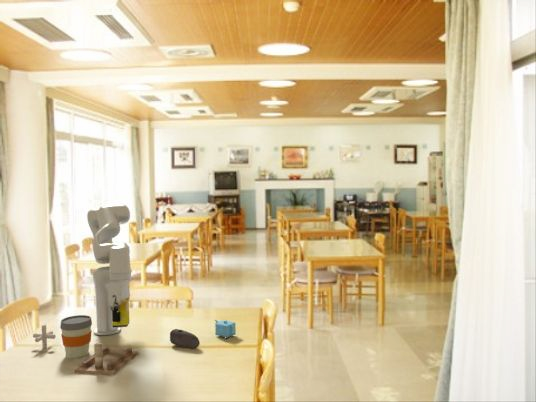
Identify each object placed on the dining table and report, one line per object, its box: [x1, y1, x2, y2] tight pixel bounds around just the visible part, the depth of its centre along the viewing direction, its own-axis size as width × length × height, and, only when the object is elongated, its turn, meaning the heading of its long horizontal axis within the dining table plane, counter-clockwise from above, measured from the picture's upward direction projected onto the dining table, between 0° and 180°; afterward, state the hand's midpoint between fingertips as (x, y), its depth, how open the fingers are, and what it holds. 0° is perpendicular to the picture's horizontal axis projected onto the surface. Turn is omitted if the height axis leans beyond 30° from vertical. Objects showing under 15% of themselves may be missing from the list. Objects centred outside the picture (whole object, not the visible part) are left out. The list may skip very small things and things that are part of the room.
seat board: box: [74, 342, 140, 376], centre depth 198 cm, size 22×16×10 cm
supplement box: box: [112, 297, 130, 328], centre depth 202 cm, size 6×6×11 cm
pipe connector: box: [32, 324, 56, 349], centre depth 217 cm, size 10×10×10 cm
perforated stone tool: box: [169, 328, 201, 349], centre depth 215 cm, size 15×5×7 cm, turn 59°
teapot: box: [214, 319, 237, 339], centre depth 229 cm, size 12×6×8 cm, turn 52°
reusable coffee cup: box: [59, 314, 93, 359], centre depth 208 cm, size 13×13×15 cm
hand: (120, 318), depth 202 cm, fingers closed on supplement box, 7 cm apart
